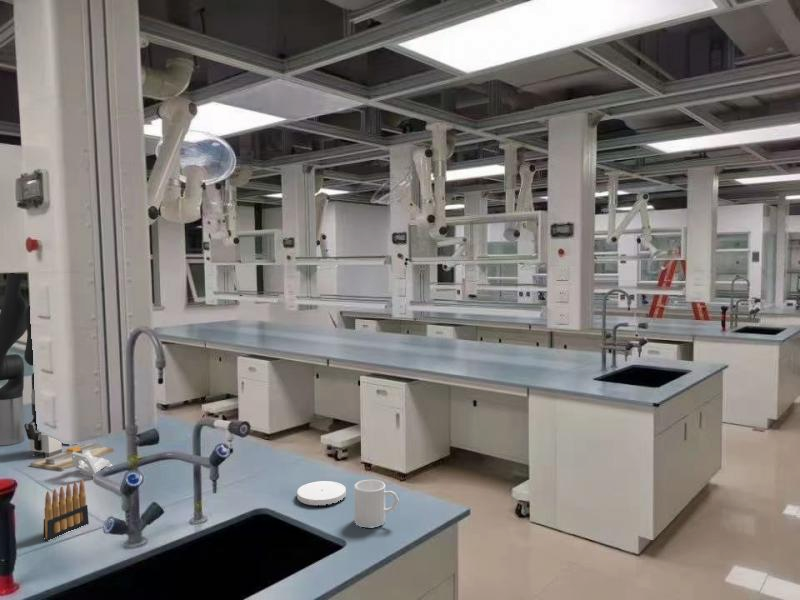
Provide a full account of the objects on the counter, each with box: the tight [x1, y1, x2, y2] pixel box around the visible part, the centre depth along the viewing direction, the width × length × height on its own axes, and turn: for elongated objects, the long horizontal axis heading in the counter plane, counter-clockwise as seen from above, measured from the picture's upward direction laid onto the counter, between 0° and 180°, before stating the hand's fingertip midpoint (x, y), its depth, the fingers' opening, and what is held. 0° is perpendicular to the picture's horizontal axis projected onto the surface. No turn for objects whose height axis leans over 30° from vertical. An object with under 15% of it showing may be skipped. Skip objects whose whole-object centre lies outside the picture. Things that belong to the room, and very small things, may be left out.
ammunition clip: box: [43, 478, 90, 541], centre depth 142 cm, size 11×2×12 cm, turn 154°
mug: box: [353, 479, 400, 527], centre depth 147 cm, size 8×12×10 cm
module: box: [29, 434, 63, 458], centre depth 201 cm, size 9×5×8 cm, turn 71°
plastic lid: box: [296, 480, 347, 506], centre depth 163 cm, size 14×14×2 cm
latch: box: [65, 445, 81, 453], centre depth 197 cm, size 3×3×1 cm
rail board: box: [30, 442, 115, 471], centre depth 197 cm, size 14×21×2 cm, turn 161°
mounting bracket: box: [71, 451, 114, 478], centre depth 182 cm, size 12×6×11 cm, turn 61°
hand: (45, 447), depth 201 cm, fingers closed on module, 5 cm apart
